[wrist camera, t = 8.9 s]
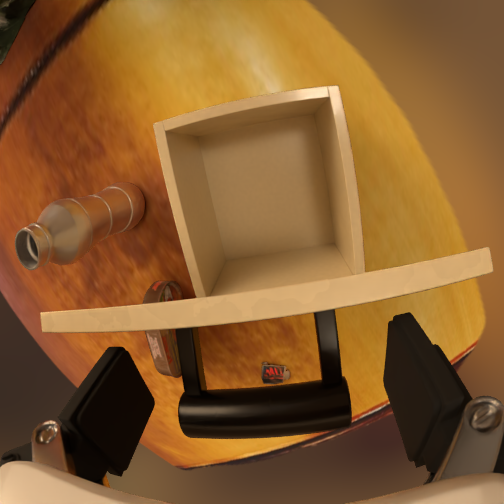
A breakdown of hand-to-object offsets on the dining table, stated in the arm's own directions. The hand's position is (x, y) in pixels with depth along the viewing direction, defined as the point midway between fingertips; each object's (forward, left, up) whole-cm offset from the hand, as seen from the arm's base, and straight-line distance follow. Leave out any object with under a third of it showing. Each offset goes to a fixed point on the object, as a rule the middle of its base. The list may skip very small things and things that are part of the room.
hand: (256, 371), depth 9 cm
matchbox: (+26, -4, -28) cm, 39 cm away
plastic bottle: (-5, -19, -29) cm, 35 cm away
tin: (+13, -17, -29) cm, 36 cm away
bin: (-3, 0, -28) cm, 28 cm away
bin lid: (+1, 0, -8) cm, 8 cm away
